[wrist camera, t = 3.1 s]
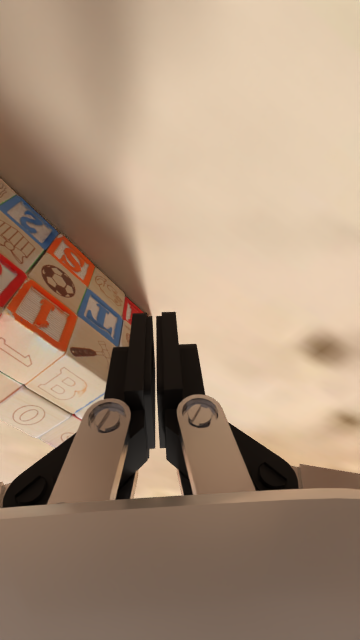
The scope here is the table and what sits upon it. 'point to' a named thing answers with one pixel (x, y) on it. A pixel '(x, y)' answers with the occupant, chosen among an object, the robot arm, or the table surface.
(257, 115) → the table surface
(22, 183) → the table surface
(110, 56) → the table surface
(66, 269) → the stack of blocks
